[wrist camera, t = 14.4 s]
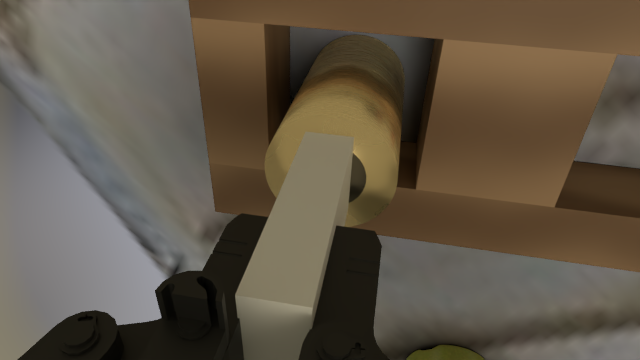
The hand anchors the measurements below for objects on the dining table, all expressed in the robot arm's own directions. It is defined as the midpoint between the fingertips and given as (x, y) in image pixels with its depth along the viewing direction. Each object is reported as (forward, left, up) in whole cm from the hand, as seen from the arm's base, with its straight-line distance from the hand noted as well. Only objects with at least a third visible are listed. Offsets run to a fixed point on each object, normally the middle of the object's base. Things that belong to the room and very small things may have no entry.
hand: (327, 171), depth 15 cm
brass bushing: (0, 0, -8) cm, 8 cm away
